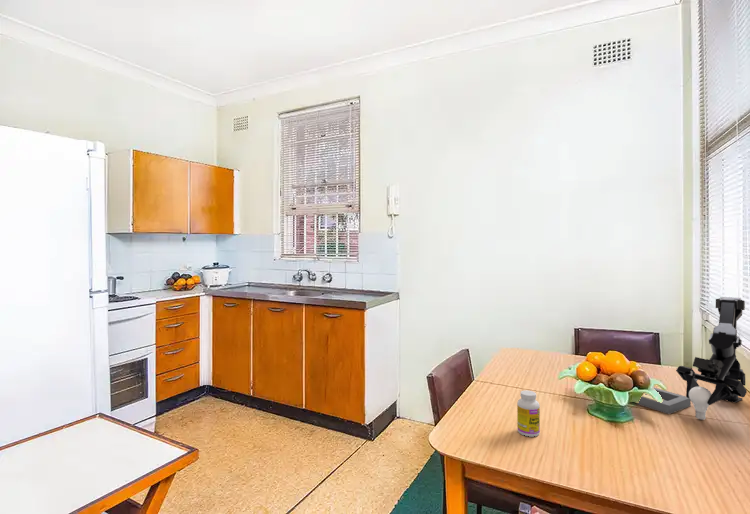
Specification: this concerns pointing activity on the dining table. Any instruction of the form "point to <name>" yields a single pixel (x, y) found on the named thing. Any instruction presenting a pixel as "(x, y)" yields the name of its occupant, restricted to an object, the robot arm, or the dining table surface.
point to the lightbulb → (700, 401)
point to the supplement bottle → (528, 414)
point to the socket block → (666, 402)
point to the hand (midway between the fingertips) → (697, 400)
